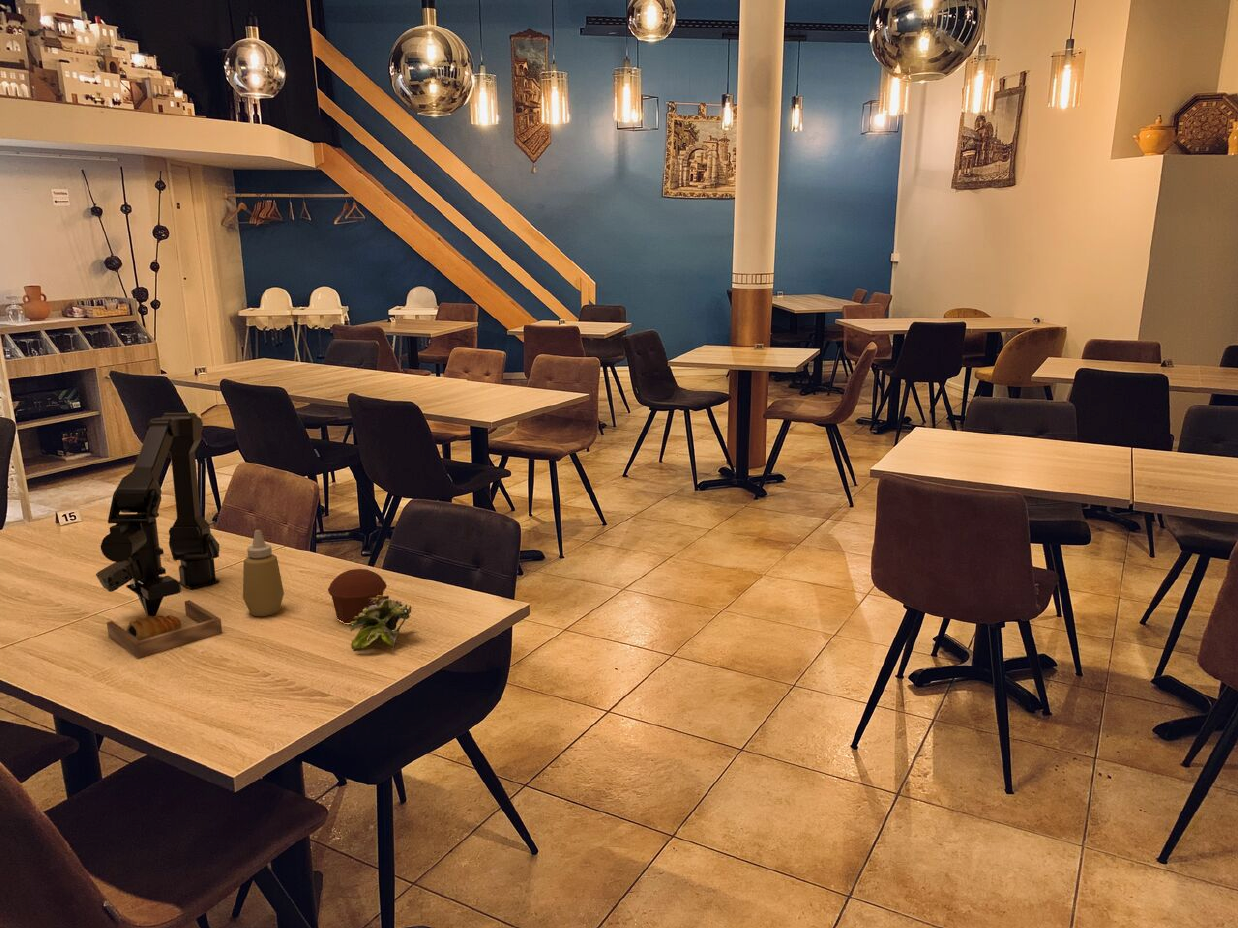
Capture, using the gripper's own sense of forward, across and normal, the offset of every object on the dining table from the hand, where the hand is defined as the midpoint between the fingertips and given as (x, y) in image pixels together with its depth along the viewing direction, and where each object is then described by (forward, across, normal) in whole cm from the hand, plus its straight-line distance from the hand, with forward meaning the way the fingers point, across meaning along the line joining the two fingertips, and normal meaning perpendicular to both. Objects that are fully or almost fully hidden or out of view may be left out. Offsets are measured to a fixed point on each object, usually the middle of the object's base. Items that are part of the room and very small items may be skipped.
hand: (151, 618), depth 182 cm
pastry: (+2, +4, -1) cm, 4 cm away
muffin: (+2, +26, +31) cm, 41 cm away
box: (+2, +6, 0) cm, 6 cm away
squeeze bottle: (+2, +10, +19) cm, 21 cm away
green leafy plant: (+2, +42, +27) cm, 50 cm away
